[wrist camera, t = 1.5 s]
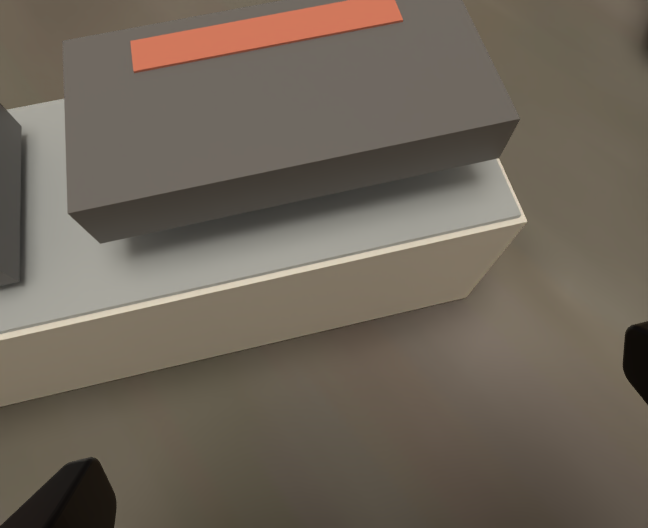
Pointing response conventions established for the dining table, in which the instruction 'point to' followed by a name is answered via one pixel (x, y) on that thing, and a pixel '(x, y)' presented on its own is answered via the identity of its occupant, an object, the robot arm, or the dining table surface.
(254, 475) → the dining table surface
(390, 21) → the key
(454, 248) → the switch block
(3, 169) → the key
